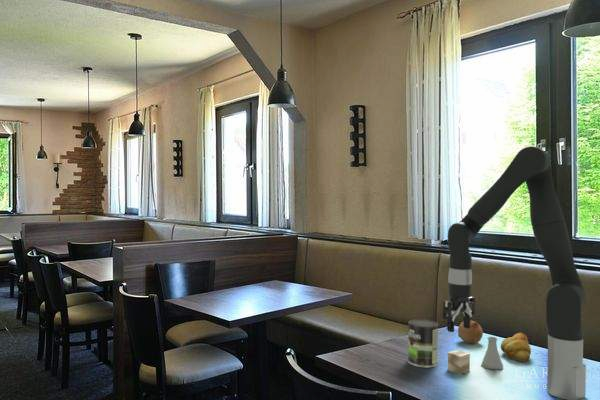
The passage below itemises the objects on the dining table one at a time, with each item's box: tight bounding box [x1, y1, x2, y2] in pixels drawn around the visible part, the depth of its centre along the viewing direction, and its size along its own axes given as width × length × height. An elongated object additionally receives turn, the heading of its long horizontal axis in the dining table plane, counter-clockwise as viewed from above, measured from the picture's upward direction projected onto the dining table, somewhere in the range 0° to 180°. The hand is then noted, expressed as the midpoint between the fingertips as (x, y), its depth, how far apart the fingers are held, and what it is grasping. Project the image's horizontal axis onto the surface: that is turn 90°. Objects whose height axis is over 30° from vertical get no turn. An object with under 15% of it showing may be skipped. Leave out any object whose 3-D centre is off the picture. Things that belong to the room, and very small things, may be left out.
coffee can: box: [407, 318, 439, 369], centre depth 172 cm, size 10×10×14 cm
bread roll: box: [500, 332, 532, 362], centre depth 178 cm, size 13×10×8 cm
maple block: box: [447, 349, 471, 375], centre depth 164 cm, size 5×5×6 cm
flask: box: [481, 336, 504, 370], centre depth 169 cm, size 7×7×10 cm
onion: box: [457, 320, 484, 345], centre depth 195 cm, size 10×9×10 cm
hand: (458, 329), depth 164 cm, fingers open, 8 cm apart
